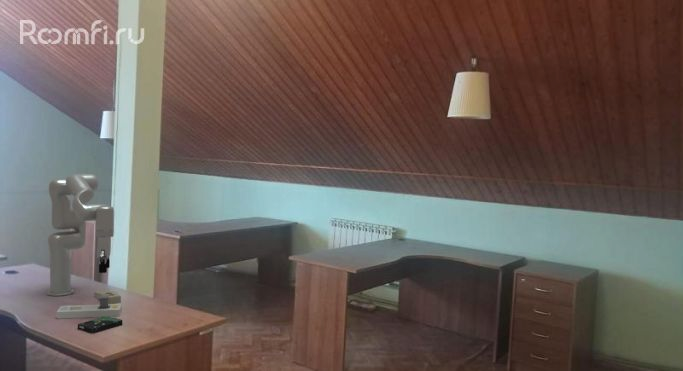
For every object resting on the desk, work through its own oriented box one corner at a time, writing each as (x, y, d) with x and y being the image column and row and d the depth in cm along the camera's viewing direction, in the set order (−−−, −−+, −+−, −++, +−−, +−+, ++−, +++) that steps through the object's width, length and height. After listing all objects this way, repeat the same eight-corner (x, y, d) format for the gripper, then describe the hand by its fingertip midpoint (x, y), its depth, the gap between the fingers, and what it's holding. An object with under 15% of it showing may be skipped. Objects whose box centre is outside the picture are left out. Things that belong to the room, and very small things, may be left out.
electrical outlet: (109, 287, 294) (121, 295, 280) (108, 295, 294) (120, 303, 281) (94, 289, 290) (105, 297, 276) (94, 297, 290) (105, 305, 276)
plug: (100, 311, 264) (100, 294, 263) (109, 311, 265) (109, 294, 264) (98, 313, 260) (99, 296, 259) (107, 313, 261) (108, 296, 260)
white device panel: (61, 312, 262) (61, 305, 262) (121, 309, 269) (121, 303, 269) (56, 318, 252) (56, 311, 252) (119, 316, 259) (119, 309, 259)
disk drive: (92, 335, 235) (123, 325, 248) (92, 328, 235) (123, 319, 248) (77, 330, 240) (107, 321, 253) (77, 324, 240) (107, 315, 253)
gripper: (98, 230, 267) (98, 266, 268) (92, 236, 251) (92, 274, 252) (115, 230, 269) (115, 266, 270) (111, 236, 252) (110, 274, 254)
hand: (104, 270), depth 261 cm, fingers open, 9 cm apart
